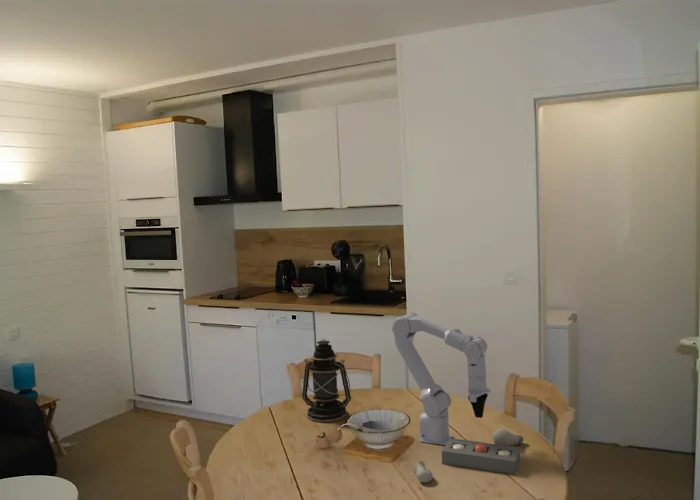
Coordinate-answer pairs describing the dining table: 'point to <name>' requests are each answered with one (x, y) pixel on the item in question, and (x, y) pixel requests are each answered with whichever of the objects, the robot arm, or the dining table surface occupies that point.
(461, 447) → the left plug
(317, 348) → the lantern
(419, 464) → the smooth white sculpture
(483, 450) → the red plug
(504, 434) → the lightbulb
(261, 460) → the dining table surface
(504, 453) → the right plug
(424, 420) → the robot arm
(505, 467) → the grey socket block
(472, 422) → the dining table surface
